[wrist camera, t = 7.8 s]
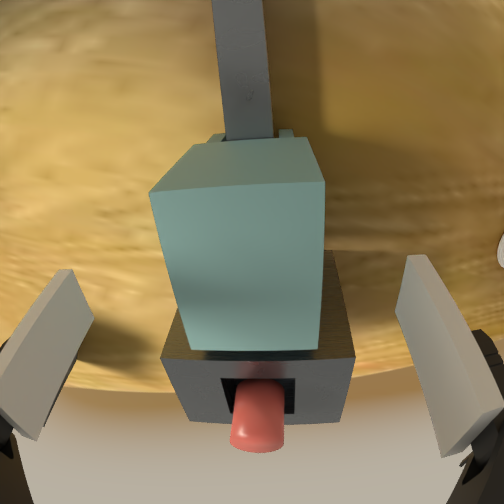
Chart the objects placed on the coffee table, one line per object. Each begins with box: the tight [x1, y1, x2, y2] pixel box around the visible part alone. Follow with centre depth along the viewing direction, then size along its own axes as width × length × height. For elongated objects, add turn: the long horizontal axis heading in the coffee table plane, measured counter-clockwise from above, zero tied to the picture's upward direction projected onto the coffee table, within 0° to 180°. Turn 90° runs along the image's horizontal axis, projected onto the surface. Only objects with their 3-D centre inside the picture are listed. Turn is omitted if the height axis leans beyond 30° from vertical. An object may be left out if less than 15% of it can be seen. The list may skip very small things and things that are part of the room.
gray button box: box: [160, 250, 356, 425], centre depth 22 cm, size 10×7×10 cm
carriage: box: [149, 129, 325, 351], centre depth 17 cm, size 6×8×9 cm
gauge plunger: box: [230, 379, 285, 453], centre depth 16 cm, size 3×3×4 cm
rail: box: [212, 0, 274, 141], centre depth 15 cm, size 6×24×5 cm, turn 5°
